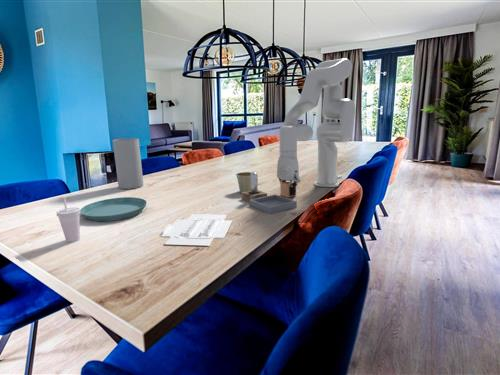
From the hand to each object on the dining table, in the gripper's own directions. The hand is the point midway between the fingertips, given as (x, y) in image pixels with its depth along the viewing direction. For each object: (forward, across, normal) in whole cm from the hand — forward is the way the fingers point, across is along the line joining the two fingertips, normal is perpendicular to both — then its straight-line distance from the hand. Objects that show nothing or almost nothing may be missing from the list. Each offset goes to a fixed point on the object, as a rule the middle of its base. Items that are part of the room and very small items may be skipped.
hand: (288, 193), depth 144 cm
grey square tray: (+1, +8, -16) cm, 18 cm away
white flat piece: (+1, +12, -51) cm, 52 cm away
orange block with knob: (+1, 0, 0) cm, 1 cm away
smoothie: (0, -3, -86) cm, 87 cm away
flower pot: (+1, -19, -10) cm, 22 cm away
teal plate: (+1, -24, -70) cm, 73 cm away
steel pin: (+1, -5, -15) cm, 16 cm away
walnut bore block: (+1, -5, -16) cm, 16 cm away
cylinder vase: (+1, -66, -52) cm, 84 cm away
